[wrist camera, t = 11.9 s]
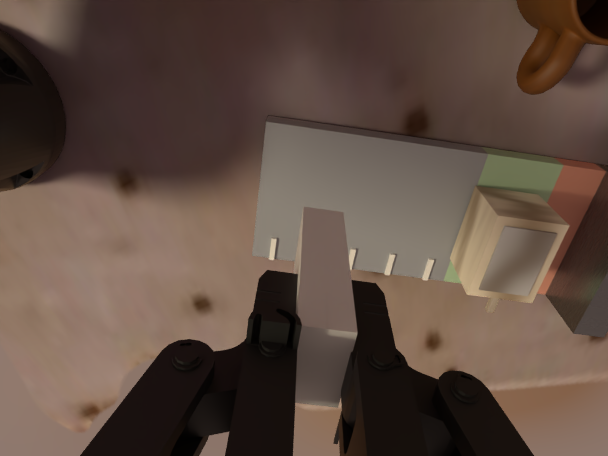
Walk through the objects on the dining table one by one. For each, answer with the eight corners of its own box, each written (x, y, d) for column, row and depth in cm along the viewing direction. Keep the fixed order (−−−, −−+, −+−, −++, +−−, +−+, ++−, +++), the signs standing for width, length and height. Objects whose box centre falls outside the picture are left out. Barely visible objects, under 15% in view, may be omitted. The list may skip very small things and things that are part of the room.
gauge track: (254, 245, 49) (251, 257, 47) (268, 115, 42) (265, 122, 40) (537, 283, 50) (546, 296, 48) (594, 163, 43) (608, 172, 41)
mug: (525, 96, 40) (579, 127, 32) (457, 51, 39) (494, 71, 31) (634, -41, 35) (731, -46, 27) (561, -100, 34) (640, -124, 25)
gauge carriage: (443, 274, 47) (460, 313, 42) (475, 185, 42) (498, 216, 37) (500, 281, 47) (524, 321, 42) (538, 194, 42) (570, 226, 37)
